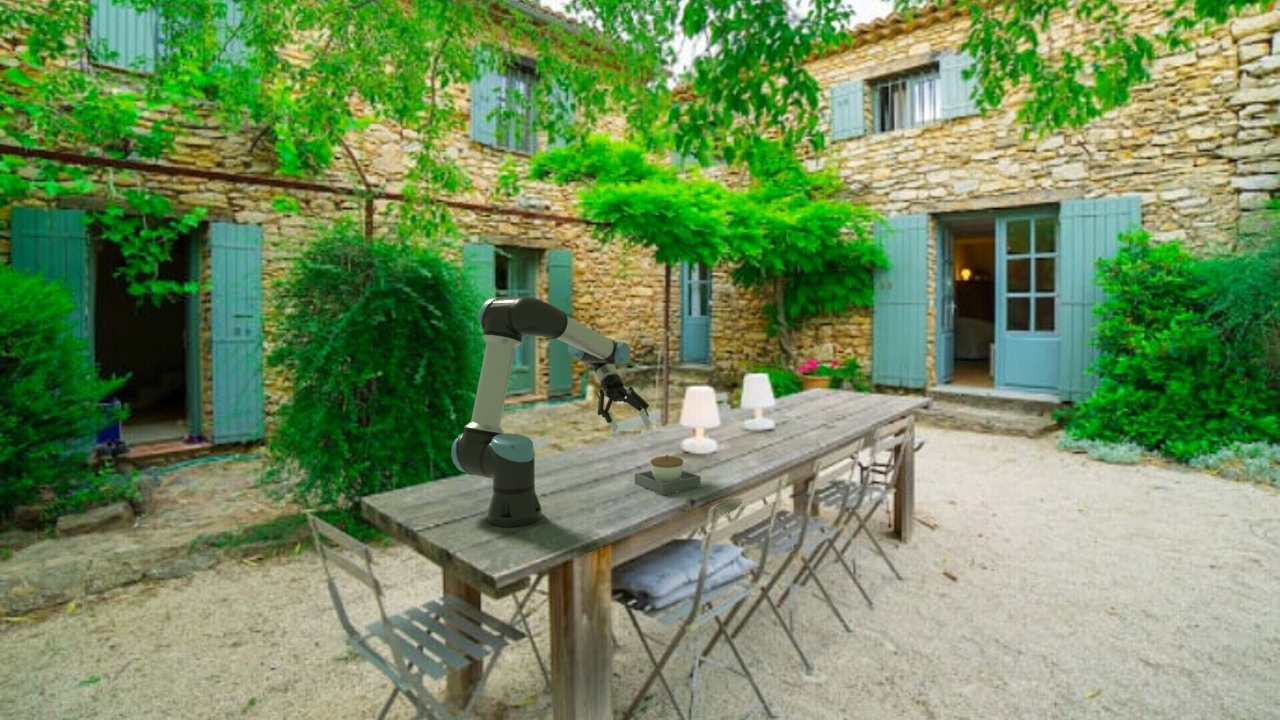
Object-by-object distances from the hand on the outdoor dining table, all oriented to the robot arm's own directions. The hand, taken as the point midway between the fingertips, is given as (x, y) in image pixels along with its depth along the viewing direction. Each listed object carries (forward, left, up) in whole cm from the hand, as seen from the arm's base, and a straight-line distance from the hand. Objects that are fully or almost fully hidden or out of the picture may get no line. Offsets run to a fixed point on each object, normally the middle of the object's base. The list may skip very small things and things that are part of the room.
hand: (632, 427), depth 214 cm
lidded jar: (+5, -13, -17) cm, 22 cm away
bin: (+5, -13, -18) cm, 23 cm away
